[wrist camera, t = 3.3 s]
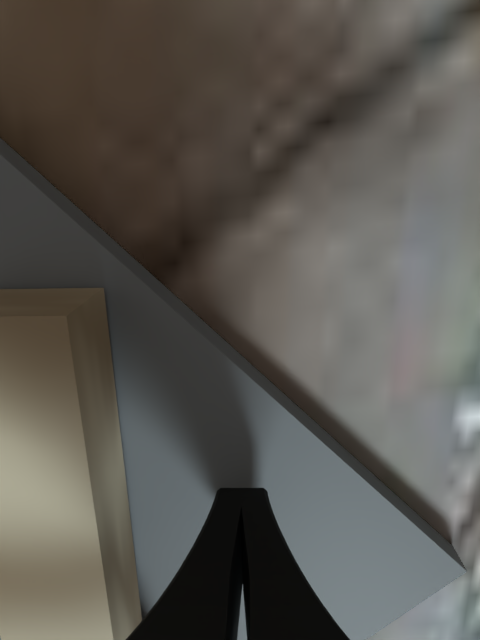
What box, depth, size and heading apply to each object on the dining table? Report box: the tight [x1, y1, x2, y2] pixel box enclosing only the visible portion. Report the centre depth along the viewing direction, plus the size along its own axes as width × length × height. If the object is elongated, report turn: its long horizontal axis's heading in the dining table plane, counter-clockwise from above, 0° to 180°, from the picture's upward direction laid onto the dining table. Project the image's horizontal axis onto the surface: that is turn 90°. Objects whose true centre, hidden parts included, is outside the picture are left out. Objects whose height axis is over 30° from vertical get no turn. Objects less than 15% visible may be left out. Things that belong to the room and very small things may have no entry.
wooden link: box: [0, 288, 142, 640], centre depth 12 cm, size 15×4×4 cm, turn 1°
